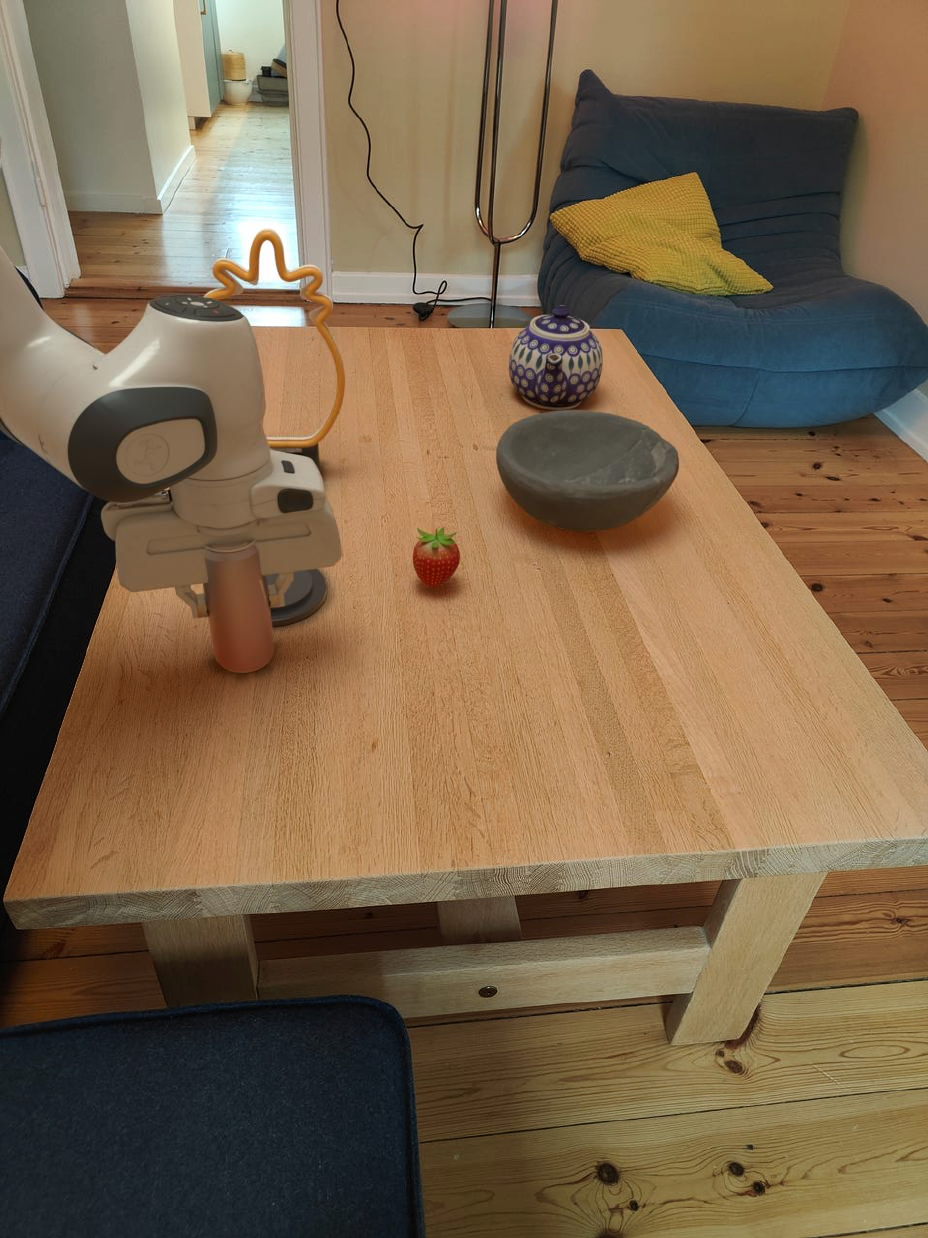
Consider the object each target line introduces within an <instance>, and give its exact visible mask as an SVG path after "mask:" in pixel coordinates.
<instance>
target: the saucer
mask: <svg viewBox="0 0 928 1238" xmlns="http://www.w3.org/2000/svg"><path fill="white" fill-rule="evenodd" d="M293 575H294V580H293V581H292V583H291V584H290V586H289V588H288V589H287V591H286V592H285V593H284V602H285V606H282V607H274V608H270V610H271V620H272V628H273V627H281V626H286V625H287V626H288V625H291V624H294V623H296V622H299V621H303V620H304V619H307V618H308V617H310V616H311V615H313V614H314V613H316V612H317V611H318V610H319V609H320V608H321V606H322V605H323V604H324V602H325V600H326V598H327V593H328V586H327V581H326V578H325V576H324V575H323V573H322V572H321V571H320V570H319V568H318V569H310V570H302V571H294V572H293ZM277 578H278V574H271V575H267V583H268V585H271V584H275V582H276V580H277Z"/></svg>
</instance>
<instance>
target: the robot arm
mask: <svg viewBox="0 0 928 1238" xmlns="http://www.w3.org/2000/svg"><path fill="white" fill-rule="evenodd" d="M3 144H4V143H3V139H2V136H1V135H0V171H1V170H2V165H3V153H4V152H3V150H4V149H3ZM254 333H255V332H254V331H253V328H252V325H251V324H250V321H249V320H248V318H247V316H245V315H244V314H243V313H242V312H241V311H240V310H238V309H237V308H235V307H233V306H231V305H230V304H227V303H225V302H223V301H220V300H215V299H212V298H206V297H204V296H200V295H198V294H197V295H196V294H188V293H187V294H183V293H176V294H164V295H160V296H159V297H154V298H153V299H151V300H149V301H148V302H147V304H146V307H145V310H144V313H143V315H142V317H141V319H140V321H139V322H138V323H137V324H136V326H135V327H134V328H133V329H132V330H131V332H130V333H129V334H128V335H126V337H125V338H124V339H123V340H122V341H121V342H120V343H119V344H117V345H116V346H115V347H114V348H112V349H111V350H110V351H109V352H107V353H104V352H102V351H100V349H97V348H96V347H95V346H93V345H92V344H91V343H90V342H88V341H87V340H86V339H84V338H83V337H81V336H80V335H78V334H76V333H75V332H74V331H72V330H70V329H68V328H66V327H65V326H63V325H62V324H60V323H58V322H57V321H55V320H54V319H53V318H51V317H50V316H48V314H47V313H46V311H44V310H43V308H42V307H41V305H40V304H39V303H38V301H37V300H36V297H34V295H33V294H32V292H31V290H30V289H29V287H28V286H27V284H26V282H25V281H24V280H23V278H22V276H21V275H20V273H19V272H18V270H17V268H16V267H15V266H14V264H13V262H12V261H11V259H10V258H9V256H8V255H7V253H6V252H5V250H4V249H3V247H2V246H1V245H0V431H1V432H2V433H3V434H4V435H5V436H7V437H8V438H10V439H11V440H13V441H14V442H16V443H17V444H19V445H21V446H22V447H24V448H26V449H28V450H30V451H32V452H33V453H35V454H36V455H37V456H38V457H40V458H41V459H42V460H44V461H45V462H47V464H49V465H50V466H52V467H53V468H55V469H56V470H57V471H58V472H59V473H60V474H62V475H63V476H65V477H67V479H68V480H71V482H73V483H74V484H76V485H77V486H79V488H81V489H83V490H85V491H86V492H88V493H89V494H90V495H92V496H93V497H96V498H97V499H100V500H103V501H106V502H107V503H106V504H105V505H104V506H103V507H102V509H101V511H100V520H101V523H102V527H103V531H104V533H105V534H106V536H107V537H108V538H109V539H110V540H112V541H113V542H115V563H116V571H117V578H118V583H119V585H120V586H121V587H123V589H125V590H127V591H128V592H130V593H140V592H147V591H148V592H149V591H155V590H163V589H172V588H174V591H175V595H176V596H177V597H178V598H180V600H182V601H183V602H184V603H185V604H186V605H187V606H189V607H190V609H191V613H192V614H191V615H192V619H193V620H196V619H202V618H204V619H205V618H208V617H209V615H208V611H207V610H208V609H207V603H206V601H205V595H204V593H196V592H195V591H194V590H193V589H192V586H195V585H200V584H202V585H203V583H208V575H207V569H206V563H205V558H204V557H205V554H206V551H207V549H206V548H204V547H203V546H204V545H207V546H209V547H211V548H213V547H212V545H218V544H226V543H235V542H245V541H248V542H249V543H250V542H252V541H253V540H254V539H257V541H256V542H255V543H254V544H255V546H256V548H257V549H258V550H259V559H260V569H261V574H262V576H264V575H271V574H278V578H277V580H276V582H275V584H271V585H268V592H269V594H268V596H269V605H270V608H274V607H282V606H285V602H284V593H285V592H286V591H287V589H288V588H289V586H290V584H291V583H292V581H293V580H294V575H293V572H294V571H302V570H310V569H318V570H319V569H325V568H331V567H334V566H336V565H337V564H338V562H339V561H340V559H341V558H342V556H343V552H342V543H341V536H340V531H339V528H338V523H337V520H336V517H335V513H334V511H333V508H332V505H331V503H330V501H329V498H328V495H327V493H326V489H325V483H324V479H323V477H322V474H321V472H320V469H319V470H318V468H317V466H316V464H315V463H314V461H313V460H312V459H311V458H309V457H305V456H300V455H295V454H290V453H284V452H279V451H275V450H270V446H269V443H268V441H267V438H266V437H267V436H266V434H265V430H264V421H265V420H264V419H265V415H266V410H267V402H266V392H265V381H264V375H263V368H262V362H261V357H260V352H259V348H258V344H257V340H256V337H255V334H254ZM249 543H247V544H249Z"/></svg>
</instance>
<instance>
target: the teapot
mask: <svg viewBox="0 0 928 1238" xmlns="http://www.w3.org/2000/svg"><path fill="white" fill-rule="evenodd" d="M551 313H552V314H541V315H537V316H535V317H533V318H531V320H530V322H529V324H528V325H527V326H526V327H524V328H523V329H522V330H520V331H519V332H518V333H517V335H516V336H515V337H514V339H513V342H512V344H511V347H510V352H509V359H508V373H509V379H510V382H511V384H512V386H513V388H514V389H515V391H516V392H517V393H518V394H519V395H521V396H522V399H523V400H524V401H525V402H526V403H527V404H529V405H531V406H533V407H536V408H540V409H543V410H552V411H563V410H572V409H575V408H577V407H578V406H580V405H581V404H582V402H584V401H585V400H587V399H588V398H589V397H590V396H592V395H593V394H594V393H595V391H596V389H597V388H598V385H599V382H600V380H601V376H602V372H603V363H604V359H603V358H604V356H603V354H604V353H603V349H602V345H601V343H600V341H599V339H598V337H597V336H596V335H595V334H594V333H593V331H591V329H590V325H589V323H587V322H585V321H584V320H582V319H580V318H577V317H575V316H572V315H570V310H569V307H568V306H567V305H564V304H560V305H558V306H557V307H555V308H553V309H552V310H551Z"/></svg>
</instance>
